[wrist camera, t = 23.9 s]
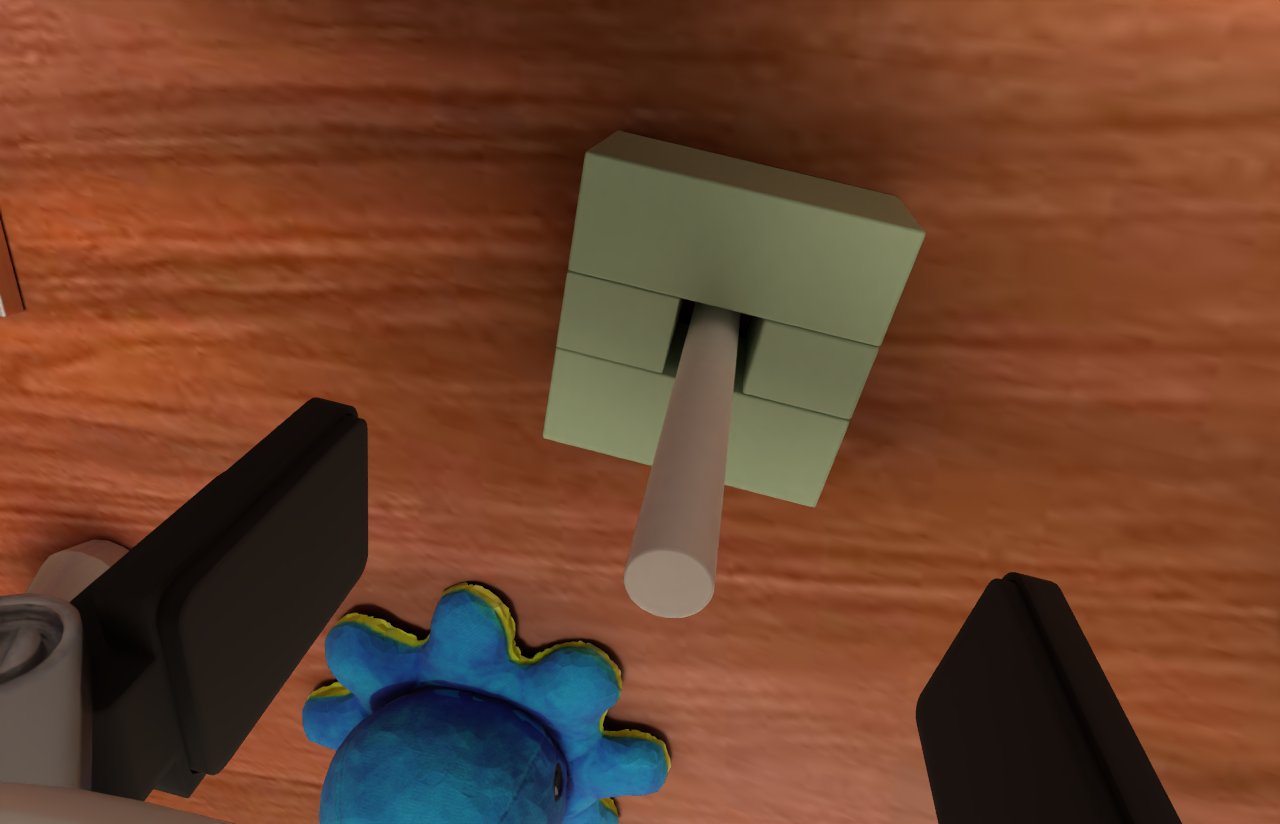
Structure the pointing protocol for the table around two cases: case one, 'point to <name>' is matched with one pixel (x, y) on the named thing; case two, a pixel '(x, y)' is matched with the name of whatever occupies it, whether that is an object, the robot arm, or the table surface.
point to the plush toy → (472, 724)
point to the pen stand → (724, 304)
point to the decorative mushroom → (75, 568)
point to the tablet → (8, 282)
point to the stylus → (687, 475)
